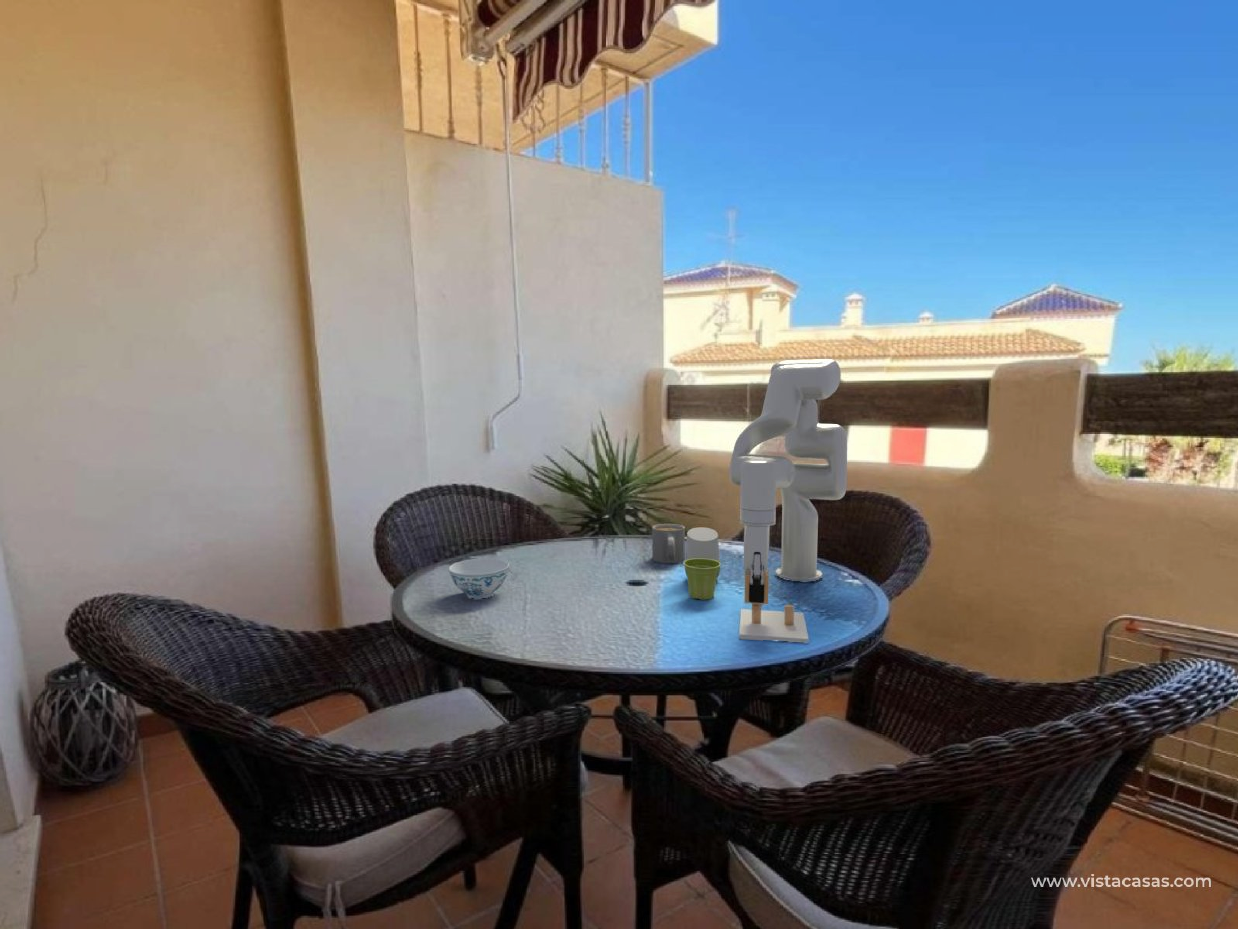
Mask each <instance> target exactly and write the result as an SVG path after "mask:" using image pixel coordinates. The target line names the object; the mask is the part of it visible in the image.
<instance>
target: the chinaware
mask: <svg viewBox="0 0 1238 929" xmlns="http://www.w3.org/2000/svg"><path fill="white" fill-rule="evenodd" d="M448 570H449V574H450V577H451V580H452V582H453V584H454V585H455V586H456V587H457V589H459V590H460V591H461V592H462V593H464V594H466V597H467V596H468V597H470V598H474V599H473V600H482V599H481V598H486V597H489V598H491V597H490V596H492V595H493V594H495V592H496V591H497V590H498V589H499V588H500V587H501V586H502V585H503V584H504V582H505V580H506V578H507V576H508V573H509V570H510V564H509V562H508V561H505V560H503V559H499V558H498V559H497V558H474V559H466V560H462V561H459V562H455V563H453V564H451V565H450V566H449V568H448ZM493 596H494V595H493ZM493 596H492V597H493ZM468 597H467V598H468ZM470 598H469V599H470ZM486 599H487V598H486Z"/></svg>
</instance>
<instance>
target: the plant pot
mask: <svg viewBox="0 0 1238 929" xmlns="http://www.w3.org/2000/svg"><path fill="white" fill-rule="evenodd" d="M682 562H683V566H684V571H685V570H686V572H687V575H686V578H687V585H688V586H687V587H688V595H689V597H690V598H692V599H699V600H702V601H706V600H710V599H713V598H714V596H715V590H716V585H717V579H718V578H717V572H718V571H719V567H720V568H721V565H722V563H721V561H720V562H718V561H716V560H712V559H704V558H695V559H688V560H684V561H682ZM686 572H685V573H686ZM716 578H717V579H716Z"/></svg>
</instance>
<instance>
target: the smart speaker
mask: <svg viewBox="0 0 1238 929" xmlns="http://www.w3.org/2000/svg"><path fill="white" fill-rule="evenodd" d="M686 534H687V535H686V542H685V543H686V544H685V560H688V559H695V558H704V559H712V560H716V561H718V562H720V563H721V558H720V546H719V544H720V543H719V534H718V532H717V531H716V530H715V529H712V528H709V527H705V526H704V527H703V526H702V527H701V526H700V527H693V528H691V529H689V530H687V532H686ZM685 560H684V561H685ZM720 569H721V566H720V567H719V571H718V572H717V578H716V580H717V579H718V578H719V575H720V571H721V570H720ZM684 571H685V575H686V576H687V572H686V570H685V569H684Z"/></svg>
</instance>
